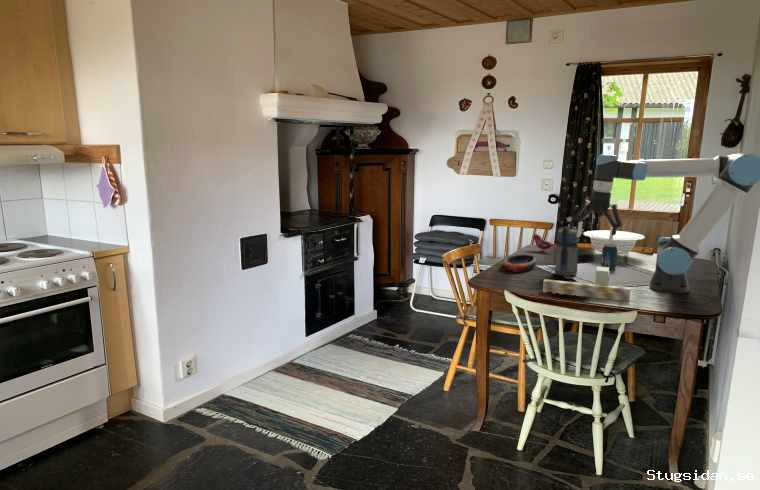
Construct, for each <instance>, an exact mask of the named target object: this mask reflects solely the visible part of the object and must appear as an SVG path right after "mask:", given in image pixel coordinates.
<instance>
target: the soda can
mask: <svg viewBox="0 0 760 490" xmlns="http://www.w3.org/2000/svg"><path fill="white" fill-rule="evenodd" d="M603 245H604V247H603V246H602V247H603V251H602V252H601V253H602V254H601V266H600V267H609V269H613V270H615V269H616V268H617V260H618V258H617V257H618V255H617V247H616V245H617V244H616V245H610V244H608V245H607V244H606V245H605V244H603Z"/></svg>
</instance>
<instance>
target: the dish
mask: <svg viewBox="0 0 760 490" xmlns="http://www.w3.org/2000/svg"><path fill="white" fill-rule="evenodd" d="M537 261H538V258H537V256H536V255H533V254H527V253H525V254H524V253H521V254H514V255H510V256H507V257H506V258H505V257H504V259H503V260H502V265H503V266H504V268H505V269H506V270H508V271H510V272H515V273H520V272H525V271H528V270H531V269H532V268H534V266H535V265H536V263H537Z"/></svg>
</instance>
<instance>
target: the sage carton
mask: <svg viewBox="0 0 760 490" xmlns="http://www.w3.org/2000/svg"><path fill="white" fill-rule="evenodd" d="M610 271H611V270H609V267H602V266H596V270H595V282H594V284H598V285H608V286H610V285H609V283H610Z"/></svg>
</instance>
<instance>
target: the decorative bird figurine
mask: <svg viewBox="0 0 760 490" xmlns="http://www.w3.org/2000/svg"><path fill="white" fill-rule="evenodd" d="M532 238H533V239H534V243H535V245H536V247H538V248H539V249H540V250H538V251H539V252H542V253H545V252H546V251H545V250H547V249H550V248H552V247H554V246H557V244H558V243H551V242H550V241H548V240H546V239H544V238H542V237H541V236H540V235H539V234H537V233H535V234H534V235H533V236H532Z"/></svg>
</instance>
